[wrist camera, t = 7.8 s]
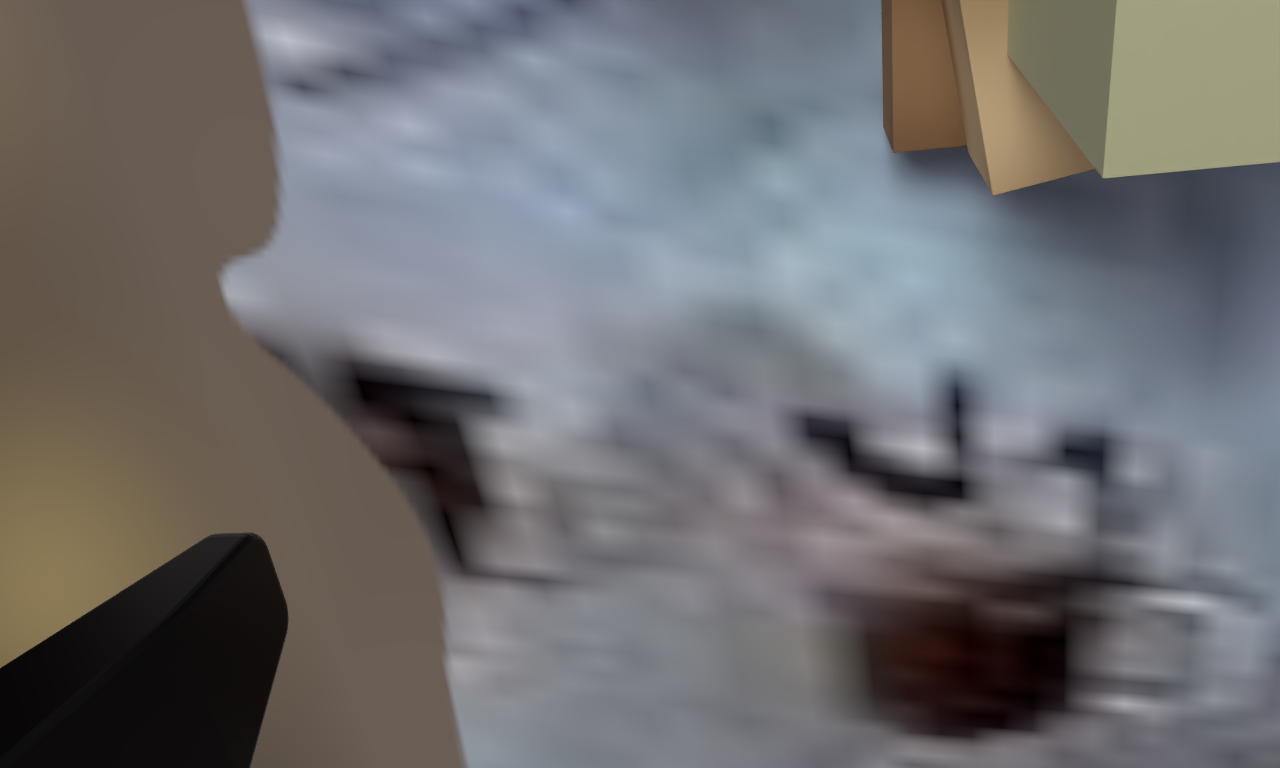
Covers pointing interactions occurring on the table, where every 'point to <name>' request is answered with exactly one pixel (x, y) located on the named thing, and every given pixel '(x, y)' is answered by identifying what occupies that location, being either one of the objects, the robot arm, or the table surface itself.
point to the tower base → (918, 78)
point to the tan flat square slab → (1003, 104)
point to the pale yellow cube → (1156, 79)
